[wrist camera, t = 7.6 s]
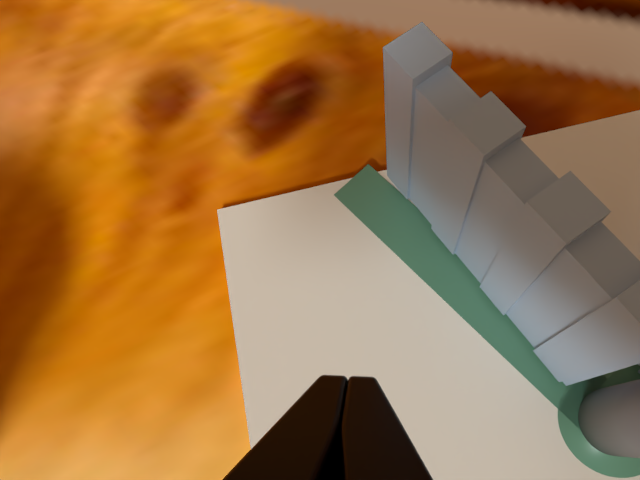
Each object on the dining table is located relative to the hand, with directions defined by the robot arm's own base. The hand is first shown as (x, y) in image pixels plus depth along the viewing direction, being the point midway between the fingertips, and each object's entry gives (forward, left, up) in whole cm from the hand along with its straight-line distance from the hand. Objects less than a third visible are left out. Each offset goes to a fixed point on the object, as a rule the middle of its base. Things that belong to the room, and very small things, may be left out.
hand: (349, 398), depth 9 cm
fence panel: (+4, -5, -10) cm, 12 cm away
